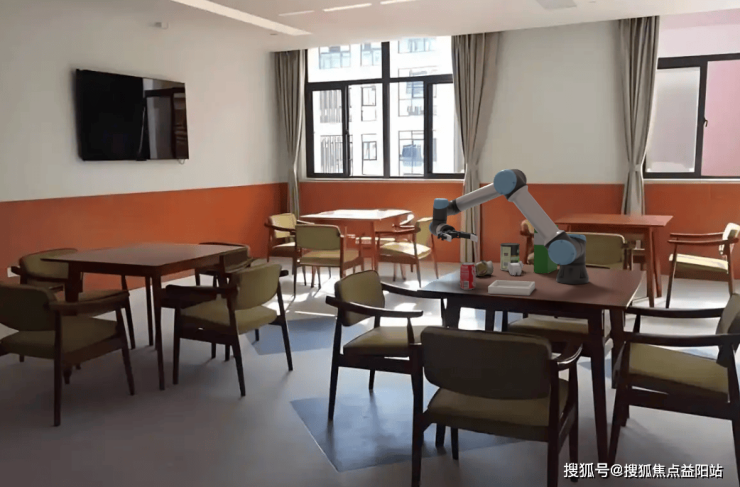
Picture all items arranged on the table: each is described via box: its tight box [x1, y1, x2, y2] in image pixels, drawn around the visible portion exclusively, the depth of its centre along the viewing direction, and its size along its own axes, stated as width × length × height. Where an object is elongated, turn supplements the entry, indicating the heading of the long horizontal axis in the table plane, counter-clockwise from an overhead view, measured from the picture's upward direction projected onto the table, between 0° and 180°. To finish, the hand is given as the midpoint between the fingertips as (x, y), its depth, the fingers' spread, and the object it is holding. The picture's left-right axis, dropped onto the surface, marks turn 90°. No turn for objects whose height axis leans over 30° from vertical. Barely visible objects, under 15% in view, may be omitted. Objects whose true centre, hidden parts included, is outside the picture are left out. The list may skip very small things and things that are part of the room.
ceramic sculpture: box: [474, 259, 495, 277], centre depth 340 cm, size 11×9×15 cm
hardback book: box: [533, 224, 559, 274], centre depth 351 cm, size 18×7×24 cm, turn 148°
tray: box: [487, 279, 536, 296], centre depth 299 cm, size 18×18×3 cm
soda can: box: [459, 261, 477, 291], centre depth 304 cm, size 7×7×12 cm
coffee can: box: [499, 242, 521, 272], centre depth 358 cm, size 10×10×14 cm
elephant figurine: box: [507, 260, 524, 276], centre depth 342 cm, size 8×10×7 cm
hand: (463, 239), depth 311 cm, fingers open, 13 cm apart
